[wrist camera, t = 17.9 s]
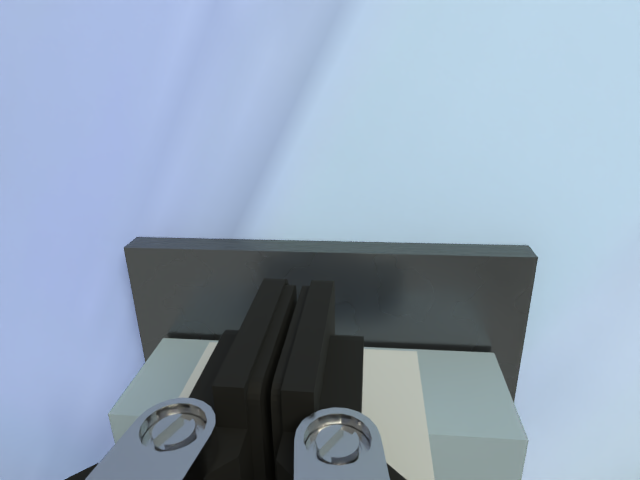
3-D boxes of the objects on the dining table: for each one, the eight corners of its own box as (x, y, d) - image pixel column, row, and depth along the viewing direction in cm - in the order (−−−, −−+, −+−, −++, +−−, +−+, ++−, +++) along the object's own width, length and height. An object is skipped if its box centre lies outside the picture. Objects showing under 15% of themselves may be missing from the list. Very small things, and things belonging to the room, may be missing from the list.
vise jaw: (501, 302, 16) (641, 583, 8) (481, 441, 18) (572, 776, 10) (154, 290, 17) (-53, 520, 9) (177, 421, 19) (28, 704, 11)
